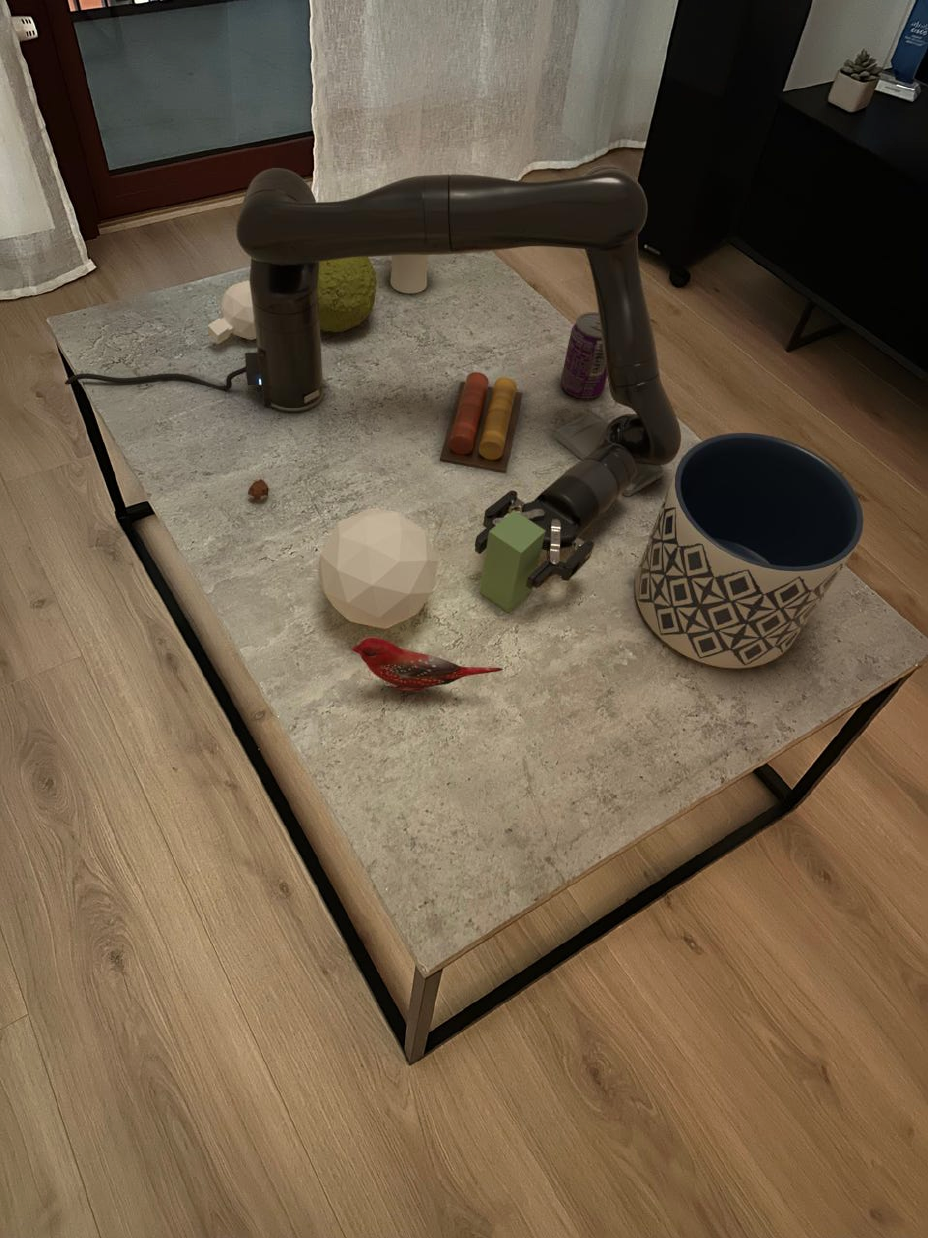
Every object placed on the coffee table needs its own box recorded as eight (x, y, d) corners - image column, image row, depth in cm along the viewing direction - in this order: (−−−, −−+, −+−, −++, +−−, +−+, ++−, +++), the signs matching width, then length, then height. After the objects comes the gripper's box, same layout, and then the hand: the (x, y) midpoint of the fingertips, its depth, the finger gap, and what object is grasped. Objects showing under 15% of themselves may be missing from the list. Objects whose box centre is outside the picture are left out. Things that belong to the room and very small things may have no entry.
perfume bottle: (252, 295, 150) (195, 332, 145) (253, 258, 141) (192, 295, 137) (288, 331, 149) (232, 369, 144) (291, 296, 140) (231, 335, 136)
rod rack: (506, 473, 132) (509, 451, 129) (439, 460, 133) (441, 439, 129) (522, 395, 143) (525, 374, 140) (460, 384, 143) (462, 362, 140)
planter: (763, 702, 112) (830, 603, 96) (604, 617, 118) (642, 511, 102) (820, 588, 124) (888, 483, 108) (673, 516, 130) (717, 407, 114)
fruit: (262, 319, 149) (268, 220, 143) (332, 321, 159) (340, 229, 153) (320, 338, 139) (328, 233, 133) (391, 340, 149) (402, 242, 143)
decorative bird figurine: (352, 676, 109) (351, 628, 101) (497, 686, 110) (507, 640, 102) (350, 696, 108) (348, 649, 99) (497, 707, 108) (507, 661, 100)
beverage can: (609, 382, 147) (625, 319, 137) (594, 407, 143) (610, 344, 133) (569, 368, 148) (582, 304, 139) (553, 392, 144) (566, 328, 135)
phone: (590, 416, 142) (591, 410, 140) (664, 475, 135) (666, 469, 134) (552, 436, 138) (554, 430, 137) (627, 498, 131) (629, 492, 130)
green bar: (508, 613, 117) (521, 553, 107) (479, 592, 119) (488, 531, 109) (531, 591, 120) (546, 530, 110) (502, 571, 121) (514, 509, 112)
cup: (372, 294, 156) (373, 220, 145) (386, 261, 162) (387, 188, 151) (432, 305, 155) (437, 231, 145) (443, 271, 162) (448, 199, 151)
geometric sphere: (378, 602, 123) (412, 499, 118) (436, 653, 112) (476, 542, 108) (284, 593, 113) (318, 481, 109) (338, 647, 103) (378, 525, 98)
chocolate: (254, 507, 124) (251, 487, 121) (246, 497, 125) (243, 477, 122) (273, 499, 125) (271, 479, 122) (266, 489, 126) (263, 469, 123)
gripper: (539, 451, 120) (461, 516, 112) (627, 506, 115) (553, 577, 107) (531, 491, 126) (457, 555, 118) (615, 544, 121) (543, 615, 113)
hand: (503, 565), depth 113 cm, fingers open, 8 cm apart
